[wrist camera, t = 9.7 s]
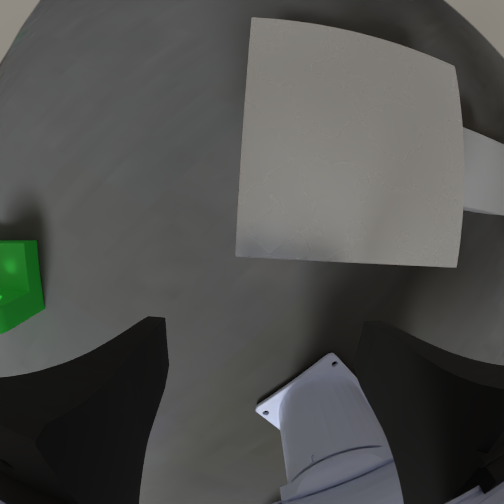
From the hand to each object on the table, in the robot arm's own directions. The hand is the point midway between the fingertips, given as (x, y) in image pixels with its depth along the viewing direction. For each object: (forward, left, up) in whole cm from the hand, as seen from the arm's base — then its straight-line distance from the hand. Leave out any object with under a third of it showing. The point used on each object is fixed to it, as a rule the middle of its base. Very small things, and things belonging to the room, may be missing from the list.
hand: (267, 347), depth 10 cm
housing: (+3, -9, -11) cm, 14 cm away
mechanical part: (+16, +18, -11) cm, 27 cm away
